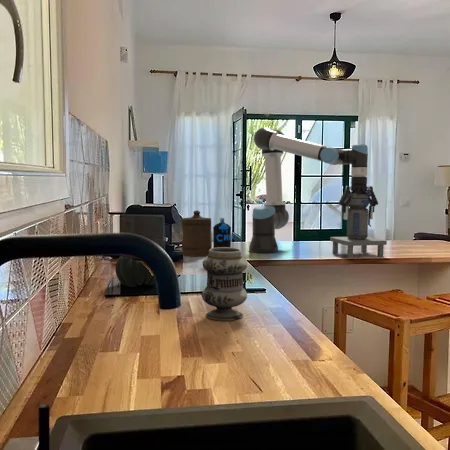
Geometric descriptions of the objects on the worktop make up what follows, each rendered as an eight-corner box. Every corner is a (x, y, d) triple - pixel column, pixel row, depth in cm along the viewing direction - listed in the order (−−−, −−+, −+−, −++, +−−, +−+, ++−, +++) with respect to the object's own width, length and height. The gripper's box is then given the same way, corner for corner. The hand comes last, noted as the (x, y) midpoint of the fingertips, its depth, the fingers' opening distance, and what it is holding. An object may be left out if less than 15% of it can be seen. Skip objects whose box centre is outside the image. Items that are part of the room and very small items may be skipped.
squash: (163, 273, 160) (157, 236, 168) (117, 277, 156) (113, 239, 164) (159, 294, 171) (154, 259, 179) (116, 298, 167) (113, 262, 175)
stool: (348, 258, 228) (348, 241, 228) (330, 252, 248) (330, 237, 247) (386, 257, 233) (386, 240, 232) (365, 251, 252) (365, 236, 251)
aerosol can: (210, 261, 218) (210, 217, 216) (226, 260, 221) (226, 217, 220) (217, 264, 211) (217, 218, 209) (234, 263, 214) (234, 218, 212)
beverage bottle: (371, 240, 233) (373, 188, 230) (343, 239, 237) (345, 188, 235) (373, 238, 242) (374, 188, 240) (346, 237, 247) (347, 188, 245)
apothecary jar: (226, 325, 120) (226, 253, 118) (192, 316, 128) (192, 249, 126) (256, 315, 129) (256, 248, 127) (222, 307, 137) (223, 245, 135)
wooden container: (194, 251, 251) (194, 209, 249) (217, 254, 243) (217, 210, 241) (175, 255, 239) (175, 210, 237) (199, 257, 230) (199, 211, 229)
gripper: (339, 176, 231) (338, 220, 232) (386, 176, 236) (384, 219, 238) (332, 176, 238) (331, 219, 240) (378, 176, 243) (376, 218, 245)
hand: (358, 219), depth 239 cm, fingers open, 13 cm apart
